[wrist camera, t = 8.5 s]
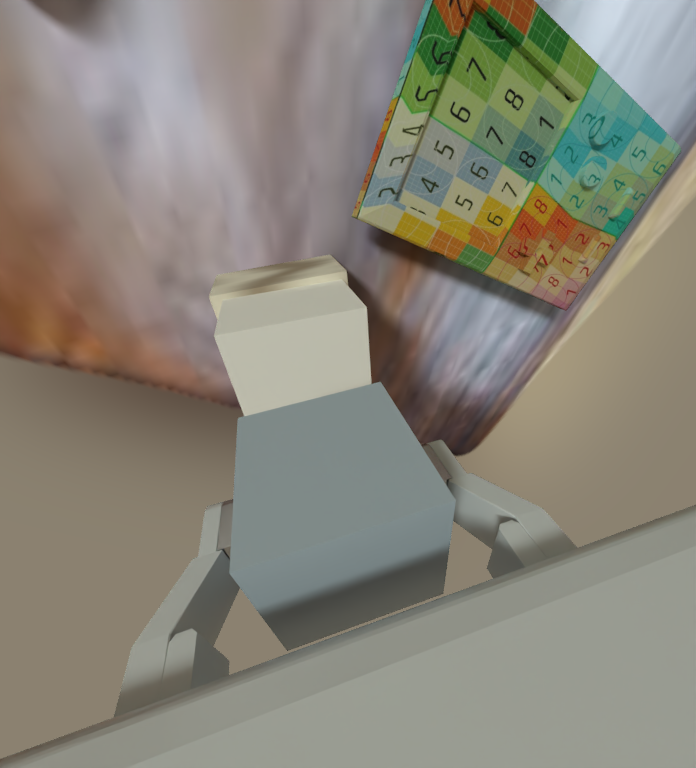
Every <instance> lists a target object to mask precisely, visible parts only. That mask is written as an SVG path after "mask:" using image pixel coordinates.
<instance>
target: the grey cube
mask: <svg viewBox="0 0 696 768" xmlns="http://www.w3.org/2000/svg"><path fill="white" fill-rule="evenodd" d="M455 503H456V500H455V498H454V496H453V495H452V493H451V492H450V490H449V489H448V487H447V485H446V484H445V482H444V481H443V479H442V478H441V476H440V474H439V473H438V471H437V470H436V468H435V467H434V465H433V463H432V462H431V460H430V459H429V457H428V456H427V454H426V452H425V451H424V449H423V448H422V446H421V445H420V443H419V441H418V440H417V438H416V437H415V435H414V434H413V432H412V430H411V429H410V427H409V426H408V424H407V422H406V421H405V419H404V418H403V416H402V415H401V413H400V411H399V410H398V408H397V407H396V405H395V404H394V402H393V400H392V399H391V397H390V396H389V394H388V393H387V391H386V389H385V388H384V386H383V385H382V383H381V382H378V383H374V384H370V385H366V386H362V387H358V388H354V389H350V390H346V391H342V392H338V393H334V394H330V395H326V396H323V397H319V398H315V399H311V400H307V401H303V402H299V403H295V404H291V405H287V406H283V407H279V408H275V409H272V410H268V411H264V412H260V413H256V414H252V415H248V416H244V417H240V418H238V426H237V444H236V462H235V480H234V498H233V516H232V534H231V551H230V569H229V574H230V575H231V576H232V578H233V579H234V580H235V582H236V583H237V584H238V586H239V587H240V588H241V590H242V591H243V592H244V594H245V595H246V596H247V598H248V599H249V600H250V602H251V603H252V604H253V606H254V607H255V608H256V610H257V611H258V612H259V614H260V615H261V616H262V618H263V619H264V620H265V622H266V623H267V624H268V626H269V627H270V628H271V630H272V631H273V632H274V633H275V635H276V636H277V638H278V639H279V640H280V642H281V643H282V644H283V646H284V647H285V648H286V650H287V651H288V650H291V649H293V648H296V647H299V646H302V645H305V644H307V643H310V642H313V641H315V640H318V639H321V638H324V637H326V636H329V635H332V634H335V633H337V632H340V631H343V630H345V629H348V628H351V627H354V626H356V625H359V624H362V623H365V622H367V621H370V620H373V619H375V618H378V617H381V616H384V615H386V614H389V613H392V612H395V611H397V610H400V609H403V608H405V607H408V606H411V605H414V604H416V603H419V602H422V601H425V600H427V599H430V598H433V597H435V596H438V595H441V594H443V591H444V584H445V576H446V569H447V562H448V554H449V547H450V540H451V532H452V525H453V518H454V511H455Z"/></svg>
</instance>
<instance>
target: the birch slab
mask: <svg viewBox="0 0 696 768" xmlns="http://www.w3.org/2000/svg"><path fill="white" fill-rule="evenodd" d="M341 279H342V280H343V281H344V282H345V283H346V284H347V286H348V279H347V271H346V270H345V269H344V268H343V267H342V266H341V265H340V264H339V263H338V262H337V261H336V260H335V259H334V258H333V257H332V256H331V255H325V256H320V257H314V258H309V259H303V260H298V261H292V262H286V263H281V264H275V265H270V266H264V267H259V268H253V269H248V270H242V271H236V272H231V273H225V274H220V275H217V276H216V279H215V281H214V284H213V287H212V289H211V292H210V295H209V298H210V301H211V304H212V306H213V309H214V312H215V314H216V317H217V319H218V318H219V313H220V309H221V305H222V301H223V300H225V299H230V298H236V297H242V296H248V295H254V294H259V293H265V292H271V291H277V290H283V289H288V288H294V287H300V286H306V285H312V284H317V283H323V282H329V281H335V280H341Z"/></svg>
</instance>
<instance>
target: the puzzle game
mask: <svg viewBox="0 0 696 768" xmlns="http://www.w3.org/2000/svg"><path fill="white" fill-rule="evenodd" d="M680 152H681V148H680V146H679V145H678V144H677V143H676V142H675V141H674V140H673V139H672V138H671V137H670V136H669V135H668V134H667V133H666V132H665V131H664V130H663V129H662V128H661V127H660V126H659V125H658V124H657V123H656V122H655V121H654V120H653V119H652V118H651V117H650V116H649V115H648V114H647V113H646V112H645V111H644V110H643V109H642V108H641V107H640V106H639V105H638V104H637V103H636V102H635V101H634V100H633V99H632V98H631V97H630V96H629V95H628V94H627V93H626V92H625V91H624V90H623V89H622V88H621V87H620V86H619V85H618V84H617V83H616V82H615V81H614V80H613V79H612V78H611V77H610V76H609V75H608V74H607V73H606V72H605V71H604V70H603V69H602V68H601V67H600V66H599V65H598V64H597V63H596V62H595V61H594V60H593V59H592V58H591V57H590V56H589V55H588V54H587V53H586V52H585V51H584V50H583V49H582V48H581V47H580V46H579V45H578V44H577V43H576V42H575V41H574V40H573V39H572V38H571V37H570V36H569V35H568V34H567V33H566V32H565V31H564V30H563V29H562V28H561V27H560V26H559V25H558V24H557V23H556V22H555V21H554V20H553V19H552V18H551V17H550V16H549V15H548V14H547V13H546V12H545V11H544V10H543V9H542V8H541V7H540V6H539V5H538V4H537V3H536V2H535V1H534V0H426V1H425V4H424V7H423V10H422V13H421V16H420V19H419V21H418V24H417V27H416V30H415V33H414V36H413V39H412V42H411V45H410V48H409V51H408V54H407V57H406V59H405V62H404V65H403V68H402V71H401V74H400V77H399V80H398V83H397V86H396V89H395V92H394V95H393V97H392V100H391V103H390V106H389V109H388V112H387V115H386V118H385V121H384V124H383V127H382V130H381V133H380V135H379V138H378V141H377V144H376V147H375V150H374V153H373V156H372V159H371V162H370V165H369V168H368V171H367V173H366V176H365V179H364V182H363V185H362V188H361V191H360V194H359V197H358V200H357V203H356V206H355V209H354V211H353V214H352V217H354V218H356V219H358V220H360V221H363V222H365V223H367V224H370V225H372V226H374V227H376V228H379V229H381V230H383V231H385V232H388V233H390V234H392V235H395V236H397V237H399V238H401V239H404V240H406V241H408V242H410V243H413V244H415V245H417V246H419V247H422V248H424V249H426V250H429V251H431V252H433V253H435V254H438V255H440V256H442V257H444V258H447V259H449V260H451V261H454V262H456V263H458V264H460V265H463V266H465V267H467V268H469V269H472V270H474V271H476V272H479V273H481V274H483V275H485V276H488V277H490V278H492V279H494V280H497V281H499V282H501V283H503V284H506V285H508V286H510V287H513V288H515V289H517V290H519V291H522V292H524V293H526V294H528V295H531V296H533V297H535V298H538V299H540V300H542V301H544V302H547V303H549V304H551V305H553V306H556V307H558V308H560V309H563V310H565V311H567V309H568V308H569V306H570V305H571V304H572V302H573V301H574V299H575V298H576V297H577V295H578V294H579V292H580V291H581V290H582V288H583V287H584V286H585V284H586V283H587V281H588V280H589V279H590V277H591V276H592V274H593V273H594V272H595V270H596V269H597V267H598V266H599V265H600V263H601V262H602V261H603V259H604V258H605V256H606V255H607V254H608V252H609V251H610V249H611V248H612V247H613V245H614V244H615V243H616V241H617V240H618V238H619V237H620V236H621V234H622V233H623V231H624V230H625V229H626V227H627V226H628V224H629V223H630V222H631V220H632V219H633V218H634V216H635V215H636V213H637V212H638V211H639V209H640V208H641V206H642V205H643V204H644V202H645V201H646V199H647V198H648V197H649V195H650V194H651V193H652V191H653V190H654V188H655V187H656V186H657V184H658V183H659V181H660V180H661V179H662V177H663V176H664V175H665V173H666V172H667V170H668V169H669V168H670V166H671V165H672V163H673V162H674V161H675V159H676V158H677V156H678V155H679V154H680Z"/></svg>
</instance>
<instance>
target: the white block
mask: <svg viewBox="0 0 696 768" xmlns="http://www.w3.org/2000/svg"><path fill="white" fill-rule="evenodd" d="M214 337H215V340H216V342H217V345H218V348H219V350H220V353H221V356H222V358H223V361H224V364H225V366H226V369H227V372H228V374H229V377H230V380H231V382H232V385H233V387H234V390H235V393H236V395H237V398H238V401H239V403H240V406H241V409H242V411H243V414H244V416H248V415H252V414H256V413H260V412H264V411H268V410H272V409H275V408H279V407H283V406H287V405H291V404H295V403H299V402H303V401H307V400H311V399H315V398H319V397H323V396H326V395H330V394H334V393H338V392H342V391H346V390H350V389H354V388H358V387H362V386H366V385H370V384H371V368H370V351H369V335H368V319H367V307H366V306H365V305H364V303H363V302H362V301H361V300H360V299H359V298H358V297H357V296H356V294H355V293H354V292H353V291H352V290H351V289H350V288H349V287H348V286H347V284H346V283H345V282H344V281H343V280H342V279H341V280H335V281H329V282H323V283H317V284H312V285H306V286H300V287H294V288H288V289H283V290H277V291H271V292H265V293H259V294H254V295H248V296H242V297H236V298H230V299H225V300H223V301H222V305H221V309H220V313H219V318H218V322H217V326H216V330H215V334H214Z"/></svg>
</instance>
